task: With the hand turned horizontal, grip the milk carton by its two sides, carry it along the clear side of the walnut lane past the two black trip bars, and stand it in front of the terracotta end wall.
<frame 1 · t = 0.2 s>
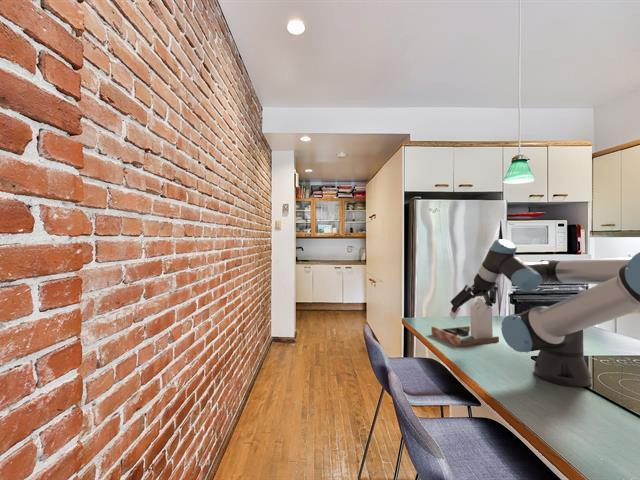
hand: (465, 315, 127), 15 cm above the kitchen island, tool tilted 35°, fingers open, 13 cm apart
milk carton: (481, 338, 145), resting on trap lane
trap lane: (464, 337, 146), on the kitchen island
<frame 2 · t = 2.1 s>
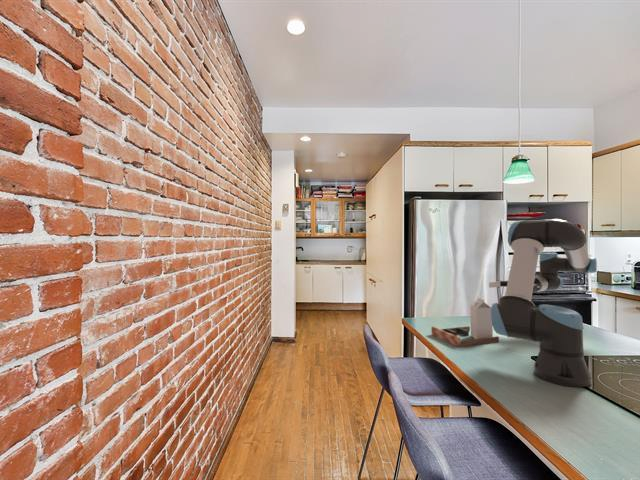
hand: (500, 286, 148), 24 cm above the kitchen island, tool horizontal, fingers open, 13 cm apart
nothing on the kitchen island moved.
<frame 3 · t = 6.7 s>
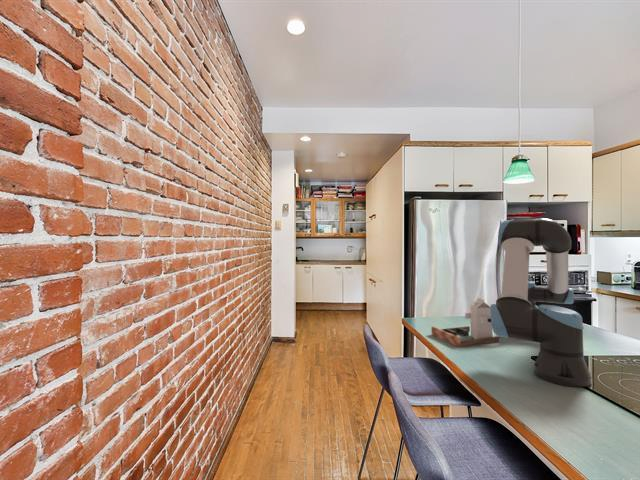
hand: (473, 318, 143), 10 cm above the kitchen island, tool horizontal, fingers closed on milk carton, 9 cm apart
milk carton: (481, 338, 145), resting on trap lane, touching gripper
when the fingers open (11 cm above the kitchen island, at t = 11.3 s): milk carton drops 1 cm, resting on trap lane.
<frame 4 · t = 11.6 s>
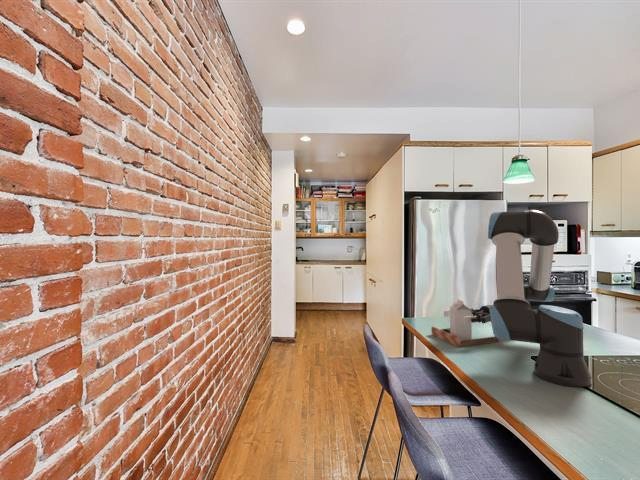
hand: (453, 316, 141), 11 cm above the kitchen island, tool horizontal, fingers open, 12 cm apart
milk carton: (460, 341, 141), resting on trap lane
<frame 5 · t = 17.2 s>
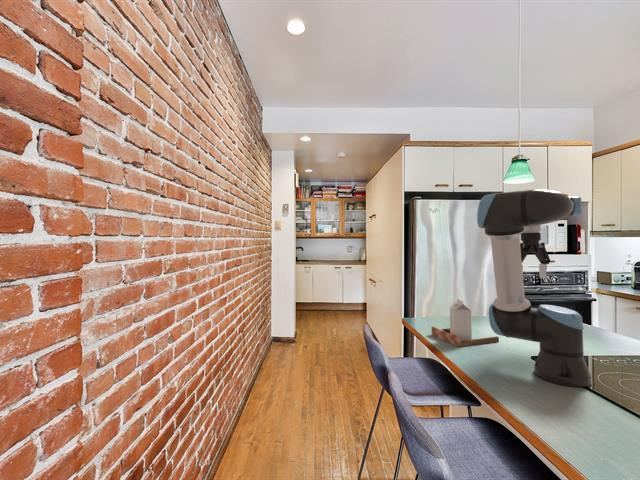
hand: (531, 278, 138), 29 cm above the kitchen island, tool pointing down, fingers open, 13 cm apart
nothing on the kitchen island moved.
at the end: milk carton inside the target area (0.6 cm from its centre), resting on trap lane; milk carton tilted 0°; the gripper is holding nothing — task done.
